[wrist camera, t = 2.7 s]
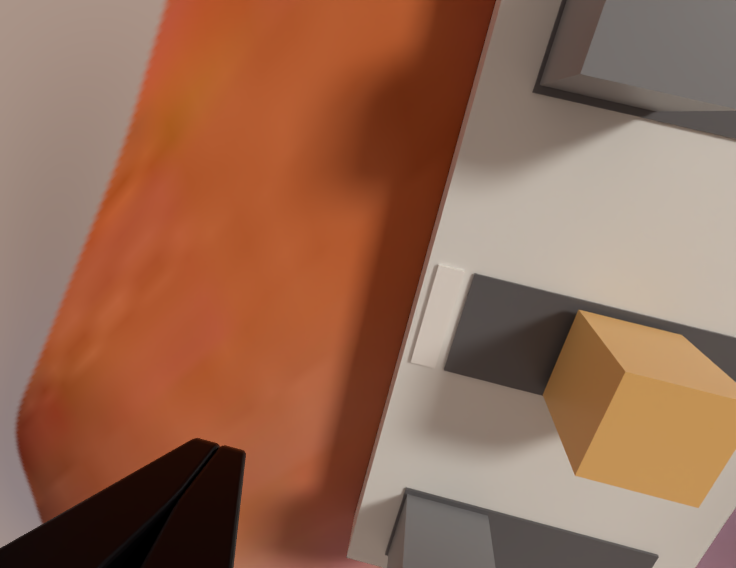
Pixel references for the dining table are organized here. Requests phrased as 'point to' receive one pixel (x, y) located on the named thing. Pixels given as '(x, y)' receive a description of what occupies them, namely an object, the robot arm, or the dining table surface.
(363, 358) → the dining table surface
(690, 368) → the handle
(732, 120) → the breaker panel
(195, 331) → the dining table surface
